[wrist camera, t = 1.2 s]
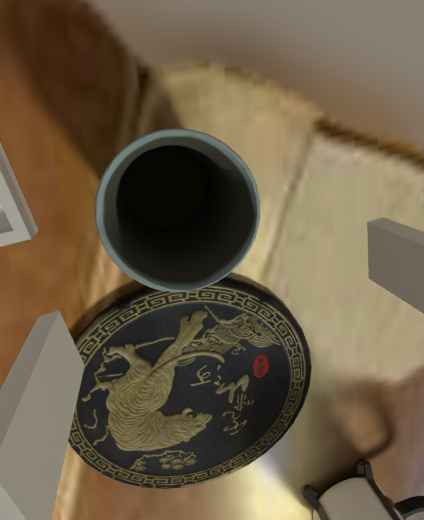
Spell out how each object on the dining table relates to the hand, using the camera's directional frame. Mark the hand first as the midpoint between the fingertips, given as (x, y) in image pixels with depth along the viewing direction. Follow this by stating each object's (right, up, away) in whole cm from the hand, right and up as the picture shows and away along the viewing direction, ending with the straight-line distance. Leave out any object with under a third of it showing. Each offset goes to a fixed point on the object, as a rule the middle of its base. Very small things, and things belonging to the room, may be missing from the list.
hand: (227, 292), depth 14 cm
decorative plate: (-3, -14, +27) cm, 30 cm away
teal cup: (-5, +8, +17) cm, 20 cm away
